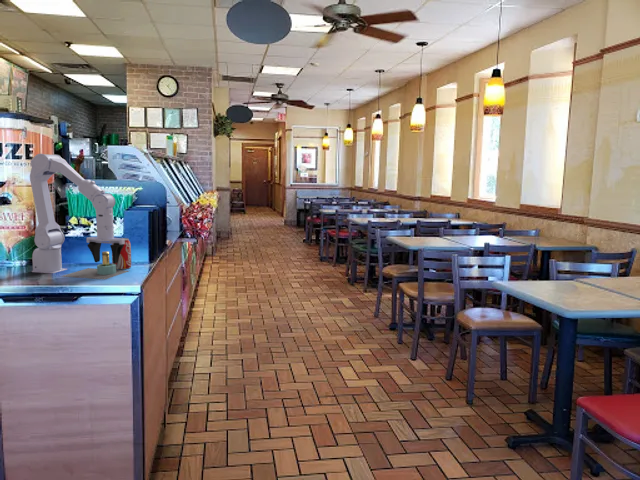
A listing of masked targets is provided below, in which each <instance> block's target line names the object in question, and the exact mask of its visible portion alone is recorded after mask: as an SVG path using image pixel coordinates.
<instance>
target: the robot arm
mask: <svg viewBox="0 0 640 480" xmlns="http://www.w3.org/2000/svg"><path fill="white" fill-rule="evenodd" d="M30 165H31V169H30V174H29V180H30V181H29V182H30V186H31V192H32V196H33V201H34V206H35V211H36V216H37V221H38V225H37V226H36V227H35V229H34V240H33V241H34V244H35V246H37V248H35V249H33V252H32V255H31V256H32V257H31V259H32V270H31V272H32V273H40V274H43V273H45V274H56V273H59V272H63V271H67V270H68V268H63V266H62V265H63V264H62V263H63V261H62V245H63V244H64V242H65V234H64V233H63V231H62V230H61V225H59V224H58V223H57V222H56V219H55V213H54V209H53V208H54V207H53V203H52V200H51V199H52V198H51V194H50V187H49V185H48V181H49V179H50V178H51V177H52V176H53V175H55V174H61V175H62V176H64V177H65V178H66V179H68V180H69V181H70V182H72V183H73V184H75V186H77V187H78V189H77V190H78V192H79V193H80V194H81V195H83V196H84V197H86V198H87V200H89V201H90V202H91V203H92V206H93V208H94V209H95V215H96V219H95V220H96V236H88V237H86V243H88V244H87V245H86V246H87V248H88V249H89V251H90V253H91V254H92V259H93V261H94V263H99V262H101V261H100V260H101V246H102V244H110V245H109V247H110V250H111V257H112V256H113V263H118V260H119V256H120V253H121V250H122V248H123V247H124V244H125V239H121V238H122V237H115V236H114V209H113V208H114V207H115V205H116V199H115V197H114V196H113V194H112V193H108V192H106V190H104V189H102V188H100V187H99V186H98V185H97V184H96V181H95V180H91V179H85V178H83V176H81V175H80V173H79V172H77V170H75V169H74V168H73V167H72V166H71V165H70V164H69V163H68V162H67V160H66V159H64V158H62V157H61V155H60V154H47V153H46V154H45V153H38V154H36V155H35V156H34V157H33V158H31V160H30ZM112 244H114V245H112Z"/></svg>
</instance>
